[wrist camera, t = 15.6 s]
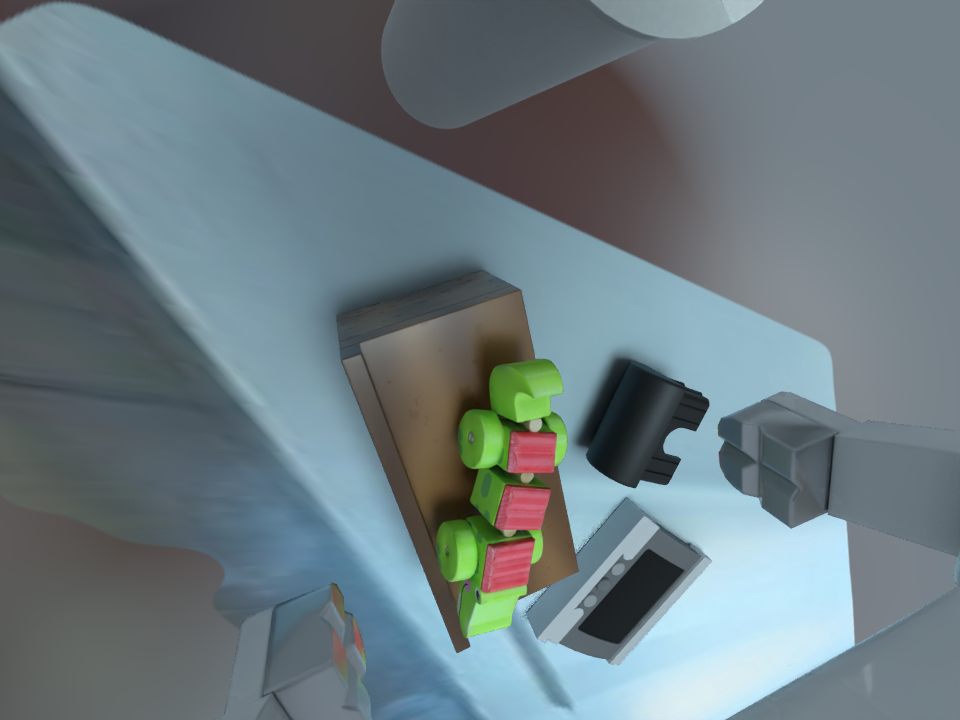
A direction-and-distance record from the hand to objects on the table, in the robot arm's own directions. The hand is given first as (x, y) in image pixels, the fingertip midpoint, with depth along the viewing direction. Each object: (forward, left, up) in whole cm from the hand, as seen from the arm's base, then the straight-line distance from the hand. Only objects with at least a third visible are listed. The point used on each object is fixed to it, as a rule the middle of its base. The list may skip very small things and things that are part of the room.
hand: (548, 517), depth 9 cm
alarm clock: (+8, +44, -29) cm, 53 cm away
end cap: (-6, +26, -29) cm, 40 cm away
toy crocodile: (+5, +14, -20) cm, 25 cm away
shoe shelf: (+6, +14, -29) cm, 33 cm away
